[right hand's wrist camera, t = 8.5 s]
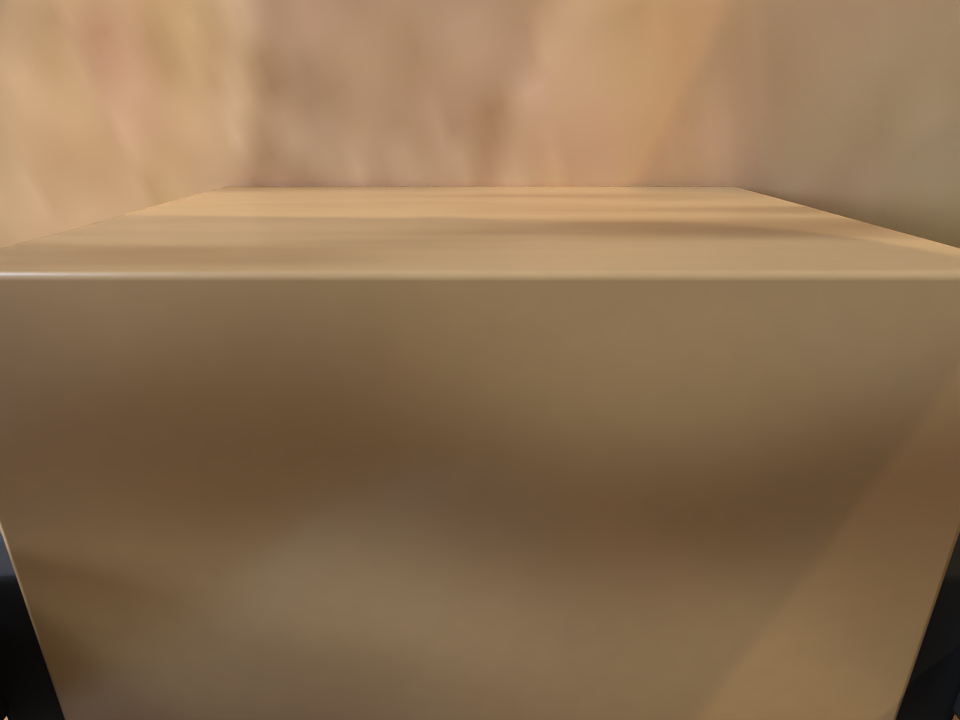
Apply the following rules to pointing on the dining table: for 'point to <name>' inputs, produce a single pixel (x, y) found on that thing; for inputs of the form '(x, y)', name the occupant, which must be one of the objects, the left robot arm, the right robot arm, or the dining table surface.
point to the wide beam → (480, 455)
